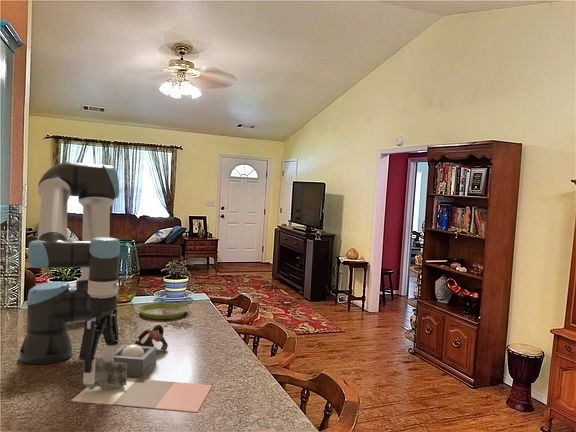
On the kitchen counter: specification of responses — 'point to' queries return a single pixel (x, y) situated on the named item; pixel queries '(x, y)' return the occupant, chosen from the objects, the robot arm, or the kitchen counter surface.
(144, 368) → the housing
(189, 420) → the kitchen counter surface
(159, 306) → the saucer
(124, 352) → the cream ball
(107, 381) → the egg carton
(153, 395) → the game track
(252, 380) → the kitchen counter surface
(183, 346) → the kitchen counter surface
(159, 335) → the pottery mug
